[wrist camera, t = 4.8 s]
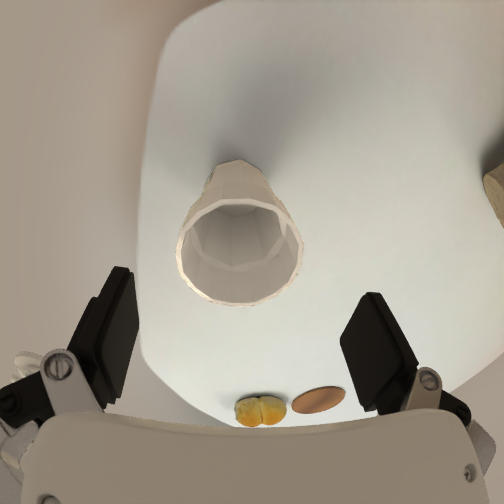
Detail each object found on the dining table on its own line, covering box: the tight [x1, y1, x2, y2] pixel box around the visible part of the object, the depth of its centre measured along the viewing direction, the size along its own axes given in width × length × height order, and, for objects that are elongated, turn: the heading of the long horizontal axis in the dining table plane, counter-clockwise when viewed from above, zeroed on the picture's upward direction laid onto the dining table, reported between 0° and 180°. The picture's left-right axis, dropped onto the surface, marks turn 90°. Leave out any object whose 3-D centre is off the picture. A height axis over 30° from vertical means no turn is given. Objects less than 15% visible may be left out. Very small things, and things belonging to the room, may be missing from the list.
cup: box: [175, 159, 304, 307], centre depth 19 cm, size 7×7×11 cm
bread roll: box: [235, 396, 287, 427], centre depth 42 cm, size 8×9×4 cm
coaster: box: [292, 387, 345, 414], centre depth 45 cm, size 10×10×1 cm
